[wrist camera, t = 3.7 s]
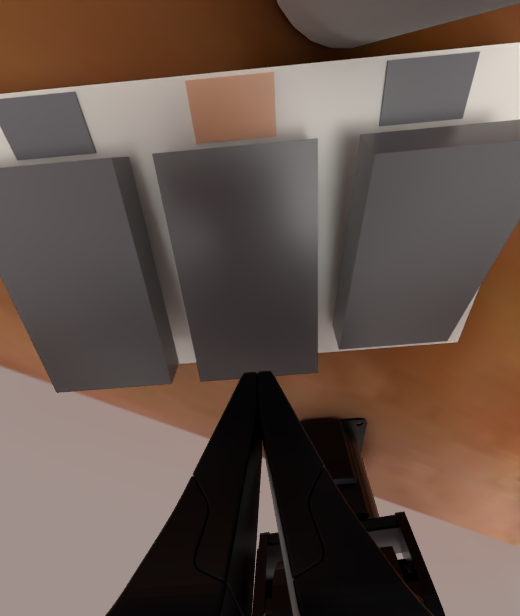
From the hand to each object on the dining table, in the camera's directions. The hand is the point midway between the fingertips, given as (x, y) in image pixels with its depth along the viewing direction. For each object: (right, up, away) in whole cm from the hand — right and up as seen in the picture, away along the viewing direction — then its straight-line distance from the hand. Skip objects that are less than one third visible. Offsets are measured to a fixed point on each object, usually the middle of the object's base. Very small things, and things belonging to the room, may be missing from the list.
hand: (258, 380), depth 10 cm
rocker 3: (+5, +4, 0) cm, 6 cm away
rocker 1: (-5, +3, 0) cm, 6 cm away
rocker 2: (0, +3, 0) cm, 3 cm away
